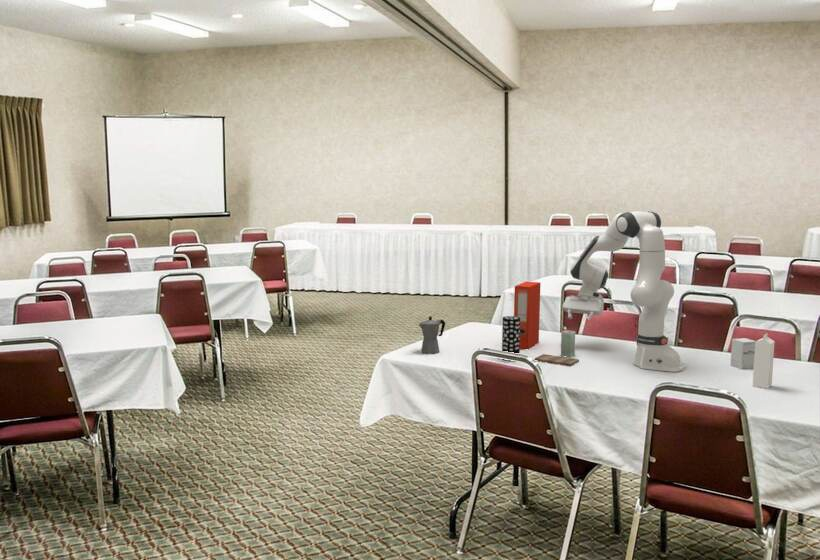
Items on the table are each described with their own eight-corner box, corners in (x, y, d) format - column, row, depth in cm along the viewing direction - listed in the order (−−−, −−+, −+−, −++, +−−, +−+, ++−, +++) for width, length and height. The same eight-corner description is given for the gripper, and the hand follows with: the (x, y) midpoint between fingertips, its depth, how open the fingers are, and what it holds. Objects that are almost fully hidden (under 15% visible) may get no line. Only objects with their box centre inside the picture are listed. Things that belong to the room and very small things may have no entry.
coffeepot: (424, 355, 358) (424, 319, 355) (414, 351, 366) (413, 316, 363) (450, 351, 366) (450, 316, 363) (439, 347, 374) (439, 313, 371)
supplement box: (741, 369, 330) (742, 342, 328) (729, 365, 337) (731, 338, 336) (754, 368, 332) (756, 341, 330) (743, 364, 339) (745, 337, 337)
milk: (771, 385, 305) (775, 333, 302) (767, 389, 300) (771, 336, 297) (756, 383, 309) (759, 331, 306) (751, 386, 304) (755, 334, 301)
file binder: (539, 343, 384) (540, 282, 379) (528, 350, 368) (529, 287, 364) (524, 341, 387) (525, 281, 383) (513, 348, 372) (514, 285, 368)
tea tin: (574, 355, 357) (575, 331, 356) (570, 357, 353) (571, 333, 351) (564, 353, 360) (565, 329, 358) (560, 356, 356) (561, 331, 354)
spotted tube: (519, 356, 355) (519, 316, 352) (519, 361, 346) (520, 319, 344) (501, 356, 356) (502, 316, 353) (502, 360, 347) (502, 319, 344)
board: (578, 361, 345) (578, 359, 345) (570, 366, 337) (570, 363, 337) (543, 356, 355) (543, 354, 355) (534, 360, 347) (534, 358, 347)
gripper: (565, 291, 375) (557, 313, 368) (604, 295, 363) (596, 317, 356) (568, 298, 379) (560, 320, 372) (607, 302, 367) (599, 325, 361)
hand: (578, 319), depth 364 cm, fingers open, 8 cm apart
